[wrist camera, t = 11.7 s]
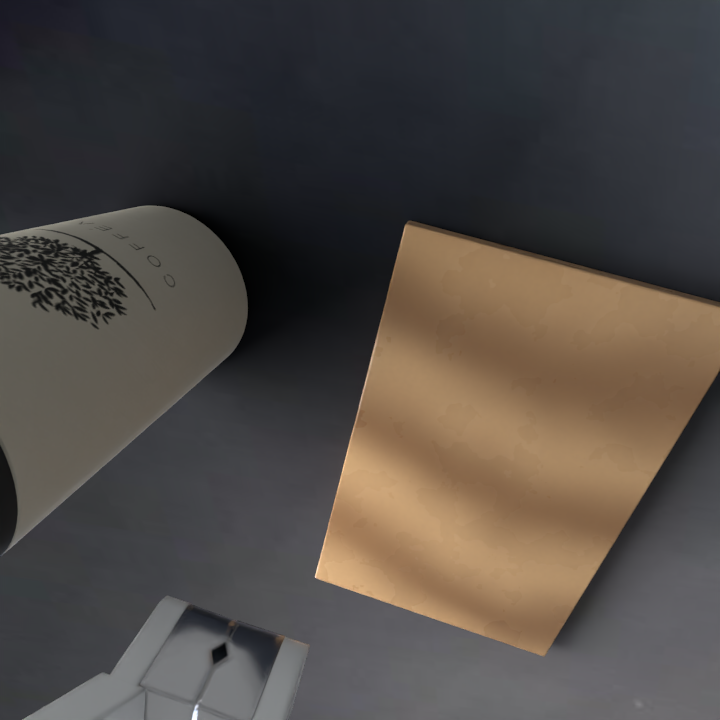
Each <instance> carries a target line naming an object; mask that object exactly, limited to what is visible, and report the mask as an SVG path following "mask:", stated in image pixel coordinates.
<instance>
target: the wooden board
mask: <svg viewBox="0 0 720 720" xmlns="http://www.w3.org/2000/svg"><path fill="white" fill-rule="evenodd" d="M719 371H720V302H716V301H713V300H709V299H705V298H701V297H698V296H694V295H690V294H686V293H682V292H679V291H675V290H671V289H667V288H664V287H660V286H656V285H652V284H648V283H645V282H641V281H637V280H633V279H629V278H626V277H622V276H618V275H614V274H611V273H607V272H603V271H599V270H595V269H592V268H588V267H584V266H580V265H577V264H573V263H569V262H565V261H561V260H558V259H554V258H550V257H546V256H543V255H539V254H535V253H531V252H527V251H524V250H520V249H516V248H512V247H509V246H505V245H501V244H497V243H493V242H490V241H486V240H482V239H478V238H475V237H471V236H467V235H463V234H459V233H456V232H452V231H448V230H444V229H441V228H437V227H433V226H429V225H425V224H422V223H418V222H414V221H408V222H407V223H406V225H405V227H404V231H403V235H402V238H401V242H400V246H399V250H398V254H397V258H396V262H395V266H394V270H393V274H392V278H391V282H390V286H389V289H388V293H387V297H386V301H385V305H384V309H383V313H382V317H381V321H380V325H379V329H378V333H377V336H376V340H375V344H374V348H373V352H372V356H371V360H370V364H369V368H368V372H367V376H366V380H365V383H364V387H363V391H362V395H361V399H360V403H359V407H358V411H357V415H356V419H355V423H354V427H353V431H352V434H351V438H350V442H349V446H348V450H347V454H346V458H345V462H344V466H343V470H342V474H341V478H340V481H339V485H338V489H337V493H336V497H335V501H334V505H333V509H332V513H331V517H330V521H329V525H328V528H327V532H326V536H325V540H324V544H323V548H322V552H321V556H320V560H319V564H318V568H317V572H316V575H315V577H316V578H317V579H320V580H323V581H325V582H328V583H331V584H334V585H337V586H340V587H343V588H346V589H349V590H352V591H355V592H357V593H360V594H363V595H366V596H369V597H372V598H375V599H378V600H381V601H384V602H387V603H390V604H392V605H395V606H398V607H401V608H404V609H407V610H410V611H413V612H416V613H419V614H422V615H425V616H427V617H430V618H433V619H436V620H439V621H442V622H445V623H448V624H451V625H454V626H457V627H460V628H462V629H465V630H468V631H471V632H474V633H477V634H480V635H483V636H486V637H489V638H492V639H494V640H497V641H500V642H503V643H506V644H509V645H512V646H515V647H518V648H521V649H524V650H527V651H529V652H532V653H535V654H538V655H541V656H545V655H546V653H547V652H548V650H549V648H550V647H551V645H552V644H553V642H554V640H555V639H556V637H557V635H558V634H559V632H560V631H561V629H562V627H563V626H564V624H565V622H566V621H567V619H568V617H569V616H570V614H571V613H572V611H573V609H574V608H575V606H576V604H577V603H578V601H579V600H580V598H581V596H582V595H583V593H584V591H585V590H586V588H587V587H588V585H589V583H590V582H591V580H592V578H593V577H594V575H595V573H596V572H597V570H598V569H599V567H600V565H601V564H602V562H603V560H604V559H605V557H606V556H607V554H608V552H609V551H610V549H611V547H612V546H613V544H614V543H615V541H616V539H617V538H618V536H619V534H620V533H621V531H622V530H623V528H624V526H625V525H626V523H627V521H628V520H629V518H630V516H631V515H632V513H633V512H634V510H635V508H636V507H637V505H638V503H639V502H640V500H641V499H642V497H643V495H644V494H645V492H646V490H647V489H648V487H649V486H650V484H651V482H652V481H653V479H654V477H655V476H656V474H657V472H658V471H659V469H660V468H661V466H662V464H663V463H664V461H665V459H666V458H667V456H668V455H669V453H670V451H671V450H672V448H673V446H674V445H675V443H676V442H677V440H678V438H679V437H680V435H681V433H682V432H683V430H684V429H685V427H686V425H687V424H688V422H689V420H690V419H691V417H692V415H693V414H694V412H695V411H696V409H697V407H698V406H699V404H700V402H701V401H702V399H703V398H704V396H705V394H706V393H707V391H708V389H709V388H710V386H711V385H712V383H713V381H714V380H715V378H716V376H717V375H718V373H719Z"/></svg>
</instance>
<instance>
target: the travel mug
mask: <svg viewBox="0 0 720 720" xmlns="http://www.w3.org/2000/svg"><path fill="white" fill-rule="evenodd" d="M247 314H248V301H247V293H246V288H245V284H244V281H243V277H242V275H241V272H240V270H239V267H238V265H237V263H236V261H235V259H234V258H233V256H232V255H231V253H230V251H229V250H228V249H227V247H226V246H225V245H224V243H223V242H222V241H221V240H220V239H219V238H218V237H217V236H216V235H215V234H214V233H213V232H212V231H211V230H210V229H209V228H208V227H206V226H205V225H204V224H203V223H201V222H200V221H198V220H197V219H195V218H193V217H191V216H190V215H188V214H185V213H183V212H181V211H178V210H175V209H172V208H168V207H163V206H140V207H135V208H130V209H125V210H120V211H115V212H110V213H105V214H100V215H95V216H91V217H86V218H81V219H76V220H71V221H66V222H61V223H56V224H51V225H47V226H42V227H37V228H32V229H27V230H22V231H17V232H12V233H7V234H2V235H0V557H1V556H2V555H3V554H4V553H5V552H7V551H8V550H9V549H10V548H11V547H12V546H13V545H14V544H16V543H17V542H18V541H19V540H20V539H21V538H22V537H24V536H25V535H26V534H27V533H28V532H29V531H30V530H32V529H33V528H34V527H35V526H36V525H37V524H38V523H39V522H41V521H42V520H43V519H44V518H45V517H46V516H47V515H49V514H50V513H51V512H52V511H53V510H54V509H55V508H57V507H58V506H59V505H60V504H61V503H62V502H63V501H64V500H66V499H67V498H68V497H69V496H70V495H71V494H72V493H74V492H75V491H76V490H77V489H78V488H79V487H80V486H82V485H83V484H84V483H85V482H86V481H87V480H88V479H89V478H91V477H92V476H93V475H94V474H95V473H96V472H97V471H99V470H100V469H101V468H102V467H103V466H104V465H105V464H107V463H108V462H109V461H110V460H111V459H112V458H113V457H114V456H116V455H117V454H118V453H119V452H120V451H121V450H122V449H124V448H125V447H126V446H127V445H128V444H129V443H130V442H132V441H133V440H134V439H135V438H136V437H137V436H138V435H139V434H141V433H142V432H143V431H144V430H145V429H146V428H147V427H149V426H150V425H151V424H152V423H153V422H154V421H155V420H157V419H158V418H159V417H160V416H161V415H162V414H163V413H164V412H166V411H167V410H168V409H169V408H170V407H171V406H172V405H174V404H175V403H176V402H177V401H178V400H179V399H180V398H182V397H183V396H184V395H185V394H186V393H187V392H188V391H189V390H191V389H192V388H193V387H194V386H195V385H196V384H197V383H199V382H200V381H201V380H202V379H203V378H204V377H205V376H207V375H208V374H209V373H210V372H211V371H212V370H213V369H214V368H216V367H217V366H218V365H219V364H220V363H221V362H222V361H224V360H225V359H226V358H227V357H228V356H229V355H230V354H231V353H232V352H233V351H234V350H235V348H236V347H237V345H238V344H239V342H240V340H241V338H242V335H243V333H244V330H245V326H246V322H247Z"/></svg>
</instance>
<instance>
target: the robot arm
mask: <svg viewBox="0 0 720 720" xmlns="http://www.w3.org/2000/svg"><path fill="white" fill-rule="evenodd" d="M309 647H310V645H308V644H305V643H302V642H299V641H296V640H293V639H290V638H285V636H283V635H280V634H277V633H274V632H271V631H268V630H265V629H262V628H259V627H256V626H253V625H250V624H247V623H244V622H241V621H238V620H237V621H236V620H234V619H231V618H228V617H225V616H222V615H220V614H217V613H214V612H211V611H209V610H206V609H203V608H200V607H197V606H195V605H192V604H191V603H188V602H185V601H182V600H179V599H176V598H173V597H170V596H166V597H165V598H164V599H163V600H161V601H160V602H159V603H158V605H157V606H156V608H155V609H154V611H153V612H152V614H151V615H150V617H149V618H148V620H147V621H146V622H145V624H144V625H143V627H142V628H141V630H140V631H139V633H138V634H137V636H136V637H135V639H134V640H133V641H132V643H131V644H130V646H129V647H128V649H127V650H126V652H125V653H124V655H123V656H122V657H121V659H120V660H119V662H118V663H117V665H116V666H115V668H114V669H113V671H112V672H111V674H110V675H109V674H106V673H103V672H102V673H100V674H99V675H97V676H95V677H94V678H92V679H90V680H88V681H87V682H85V683H83V684H82V685H80V686H78V687H77V688H75V689H73V690H72V691H70V692H68V693H67V694H65V695H63V696H62V697H60V698H58V699H56V700H55V701H53V702H51V703H50V704H48V705H46V706H45V707H43V708H41V709H40V710H38V711H36V712H35V713H33V714H31V715H30V716H28V717H26V718H24V719H23V720H289V719H290V715H291V712H292V709H293V705H294V702H295V698H296V695H297V691H298V688H299V684H300V681H301V677H302V673H303V670H304V666H305V662H306V659H307V655H308V651H309Z"/></svg>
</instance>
